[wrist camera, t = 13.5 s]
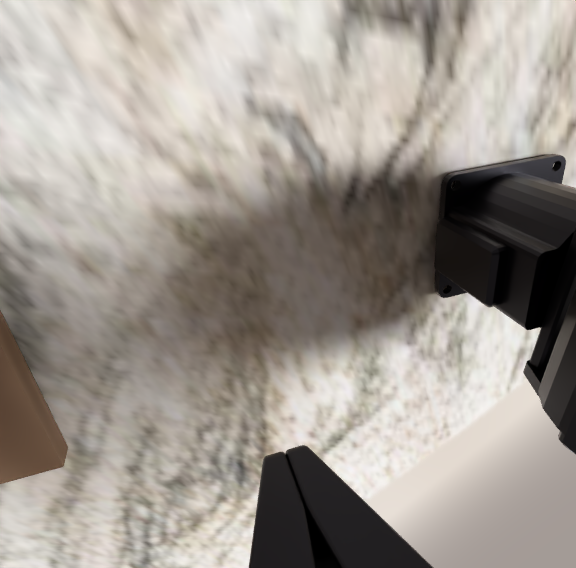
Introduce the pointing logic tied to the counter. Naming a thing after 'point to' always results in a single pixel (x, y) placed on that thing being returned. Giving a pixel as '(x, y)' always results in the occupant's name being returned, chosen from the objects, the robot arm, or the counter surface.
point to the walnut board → (24, 418)
